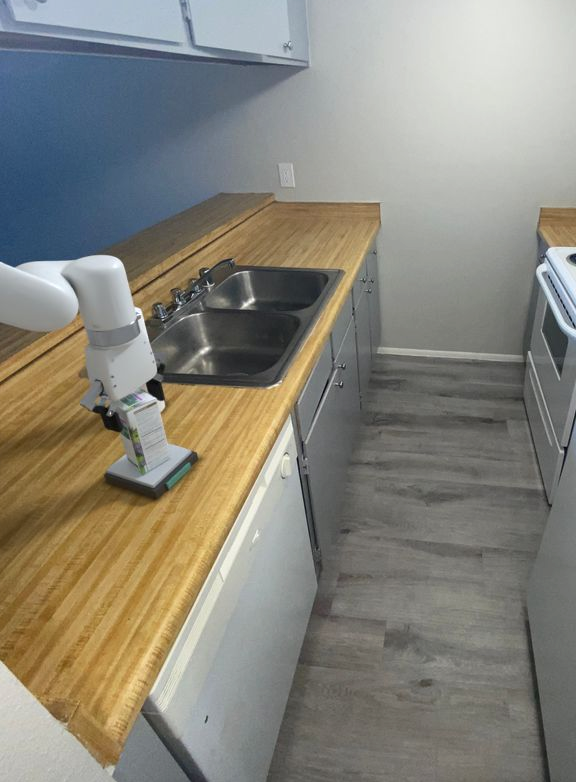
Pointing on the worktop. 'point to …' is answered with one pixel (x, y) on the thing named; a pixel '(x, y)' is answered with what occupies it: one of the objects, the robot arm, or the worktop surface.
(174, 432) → the worktop surface
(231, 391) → the worktop surface
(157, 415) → the syrup box
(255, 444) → the worktop surface
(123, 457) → the scale
